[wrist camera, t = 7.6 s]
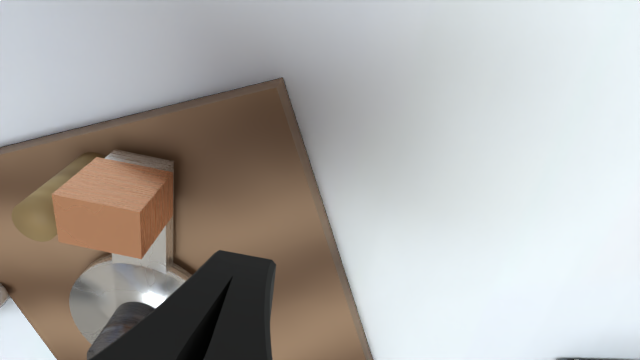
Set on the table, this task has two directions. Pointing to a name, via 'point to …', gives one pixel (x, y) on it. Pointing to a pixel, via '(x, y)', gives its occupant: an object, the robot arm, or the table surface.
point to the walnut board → (190, 216)
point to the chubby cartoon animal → (3, 295)
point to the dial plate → (126, 272)
